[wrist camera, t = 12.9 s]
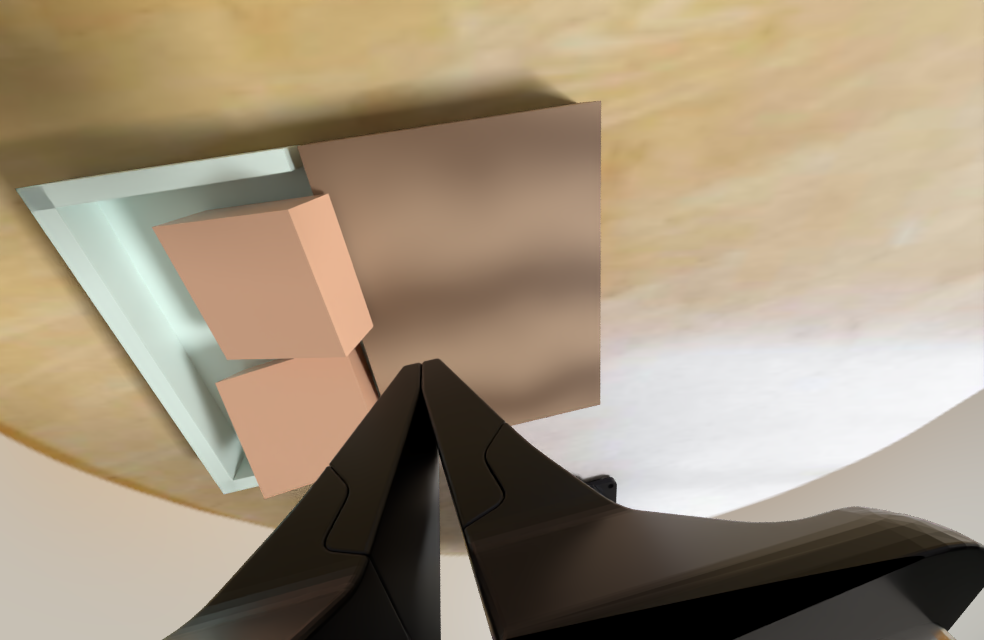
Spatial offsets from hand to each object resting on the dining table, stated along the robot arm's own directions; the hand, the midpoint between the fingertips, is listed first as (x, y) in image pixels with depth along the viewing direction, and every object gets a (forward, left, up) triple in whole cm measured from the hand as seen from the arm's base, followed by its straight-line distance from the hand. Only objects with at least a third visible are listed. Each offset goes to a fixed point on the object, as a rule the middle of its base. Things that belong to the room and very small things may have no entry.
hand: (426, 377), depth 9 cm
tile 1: (0, +6, -10) cm, 12 cm away
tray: (-3, +8, -12) cm, 15 cm away
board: (-3, -3, -12) cm, 12 cm away
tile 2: (-7, +7, -10) cm, 14 cm away
